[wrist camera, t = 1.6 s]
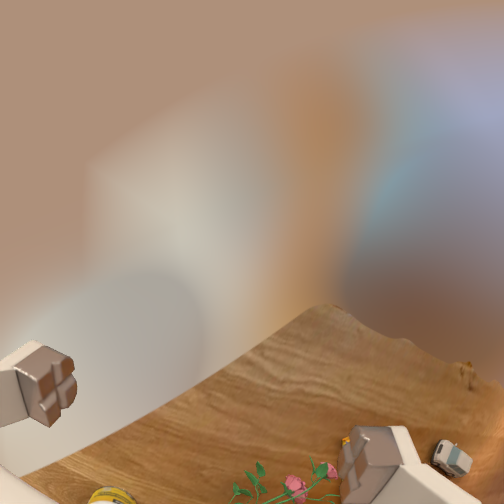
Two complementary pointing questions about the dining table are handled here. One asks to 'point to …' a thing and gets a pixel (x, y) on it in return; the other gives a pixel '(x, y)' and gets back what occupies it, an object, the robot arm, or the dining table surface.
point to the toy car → (451, 459)
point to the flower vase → (290, 484)
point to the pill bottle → (111, 496)
